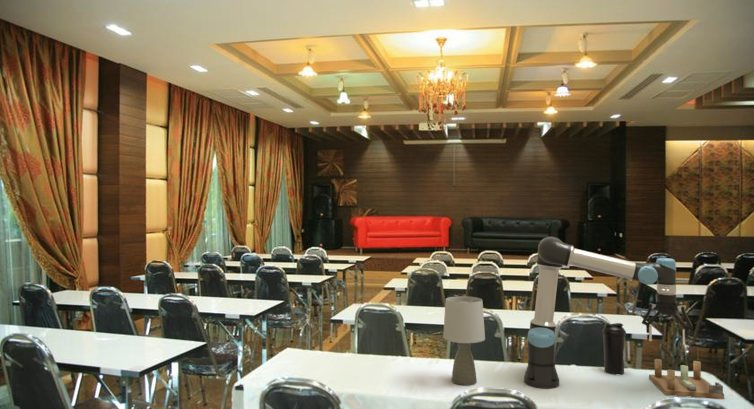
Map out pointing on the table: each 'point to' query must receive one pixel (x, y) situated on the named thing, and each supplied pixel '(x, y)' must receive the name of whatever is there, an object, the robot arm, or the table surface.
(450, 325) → the lamp
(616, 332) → the water bottle
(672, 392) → the stool seat
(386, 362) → the table surface
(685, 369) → the hinged leg
